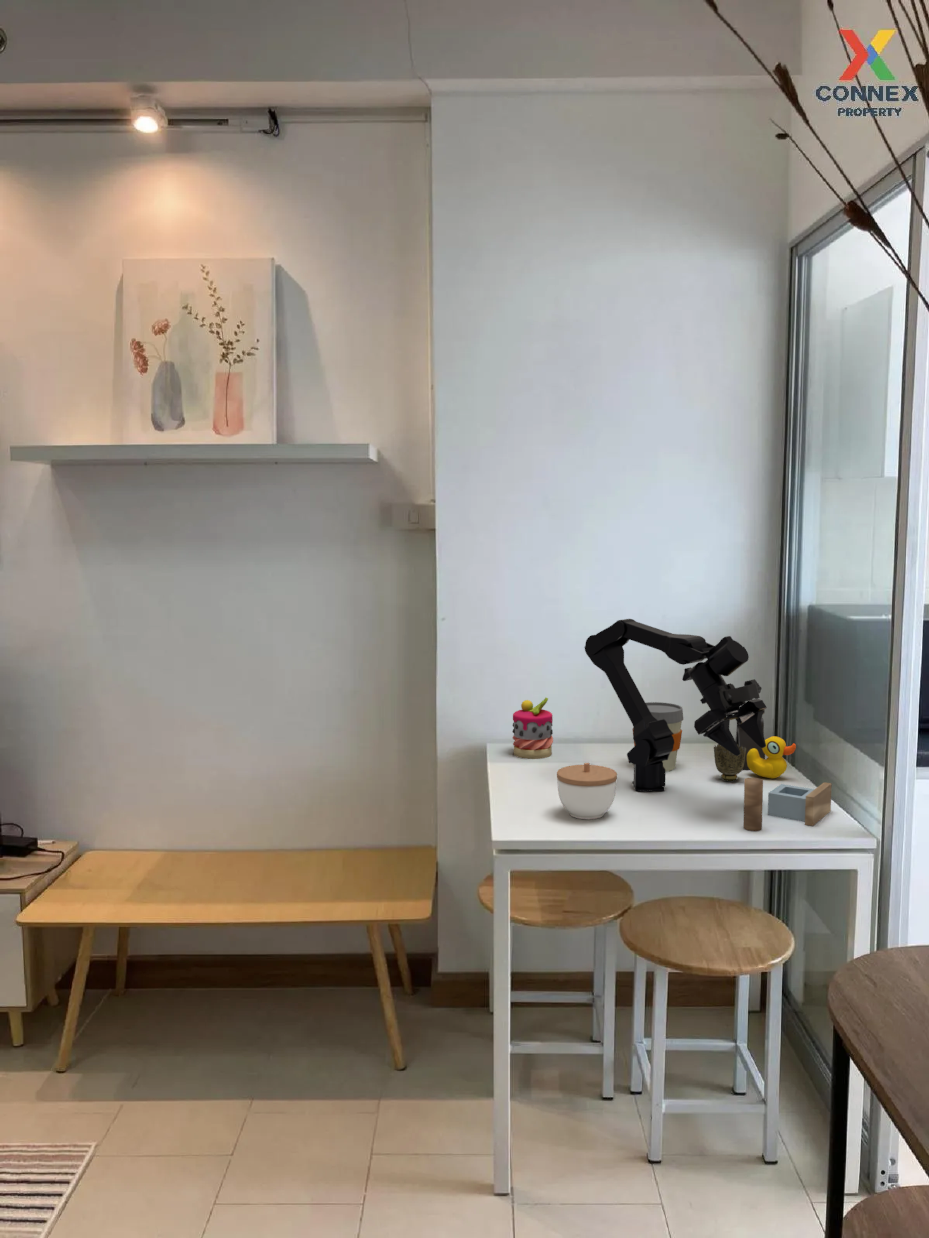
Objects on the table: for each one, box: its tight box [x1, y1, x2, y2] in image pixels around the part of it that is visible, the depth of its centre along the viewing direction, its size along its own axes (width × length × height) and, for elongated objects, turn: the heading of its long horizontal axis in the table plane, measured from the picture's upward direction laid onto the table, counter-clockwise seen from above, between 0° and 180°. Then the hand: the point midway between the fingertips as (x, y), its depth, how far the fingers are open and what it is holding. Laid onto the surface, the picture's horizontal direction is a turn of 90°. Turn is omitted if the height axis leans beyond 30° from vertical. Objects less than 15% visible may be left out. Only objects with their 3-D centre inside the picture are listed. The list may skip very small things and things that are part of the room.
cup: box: [713, 743, 746, 782], centre depth 242 cm, size 8×7×8 cm
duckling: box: [747, 735, 797, 779], centre depth 243 cm, size 11×5×10 cm, turn 57°
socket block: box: [767, 783, 816, 823], centre depth 217 cm, size 8×8×5 cm
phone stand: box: [734, 717, 766, 771], centre depth 254 cm, size 9×6×12 cm, turn 176°
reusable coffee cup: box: [632, 701, 684, 772], centre depth 253 cm, size 12×13×15 cm
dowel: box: [742, 777, 764, 832], centre depth 207 cm, size 4×4×10 cm
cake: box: [512, 697, 554, 760], centre depth 267 cm, size 10×11×15 cm
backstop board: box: [804, 781, 833, 827], centre depth 214 cm, size 2×12×6 cm, turn 144°
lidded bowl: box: [556, 762, 618, 820], centre depth 217 cm, size 13×13×11 cm
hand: (751, 751), depth 215 cm, fingers open, 9 cm apart
